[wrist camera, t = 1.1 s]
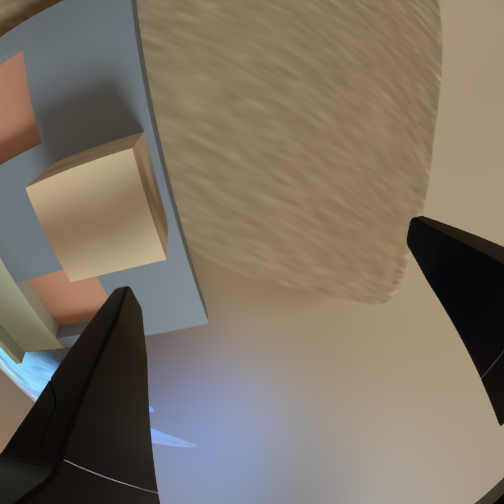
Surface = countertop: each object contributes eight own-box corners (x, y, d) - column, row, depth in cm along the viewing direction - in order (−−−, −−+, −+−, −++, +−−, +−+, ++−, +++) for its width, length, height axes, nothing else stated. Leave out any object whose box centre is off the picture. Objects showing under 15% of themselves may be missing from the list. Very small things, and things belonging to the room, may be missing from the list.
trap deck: (206, 306, 25) (210, 336, 22) (23, 338, 23) (16, 363, 20) (134, -15, 10) (123, -33, 7) (-81, 122, 7) (-104, 135, 4)
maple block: (168, 222, 17) (166, 259, 14) (86, 243, 17) (70, 282, 14) (144, 131, 14) (132, 148, 11) (54, 162, 13) (25, 187, 10)
